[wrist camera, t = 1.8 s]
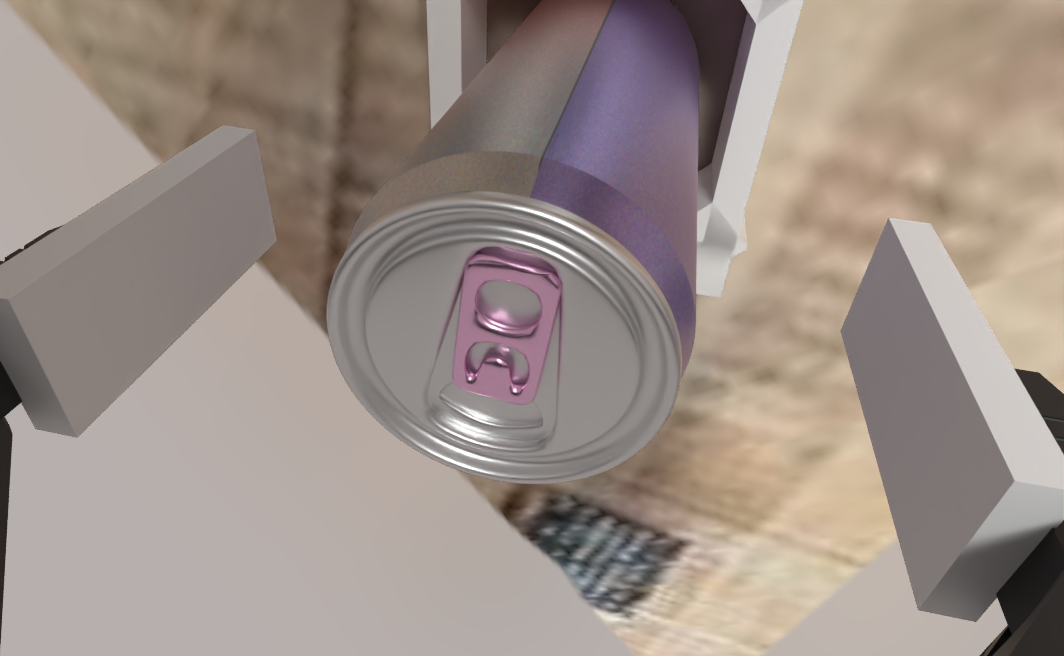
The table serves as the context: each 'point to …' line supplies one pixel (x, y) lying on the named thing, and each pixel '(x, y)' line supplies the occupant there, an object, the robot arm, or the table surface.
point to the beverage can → (536, 253)
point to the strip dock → (742, 131)
